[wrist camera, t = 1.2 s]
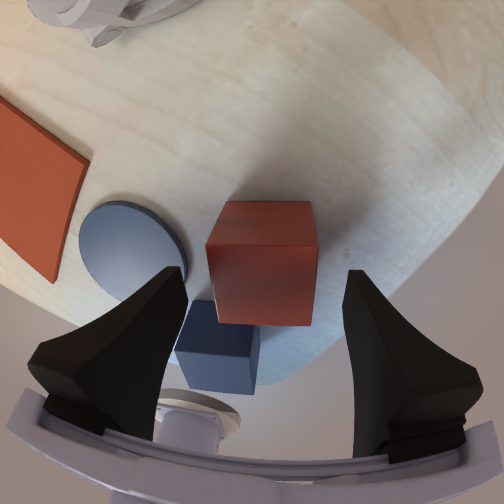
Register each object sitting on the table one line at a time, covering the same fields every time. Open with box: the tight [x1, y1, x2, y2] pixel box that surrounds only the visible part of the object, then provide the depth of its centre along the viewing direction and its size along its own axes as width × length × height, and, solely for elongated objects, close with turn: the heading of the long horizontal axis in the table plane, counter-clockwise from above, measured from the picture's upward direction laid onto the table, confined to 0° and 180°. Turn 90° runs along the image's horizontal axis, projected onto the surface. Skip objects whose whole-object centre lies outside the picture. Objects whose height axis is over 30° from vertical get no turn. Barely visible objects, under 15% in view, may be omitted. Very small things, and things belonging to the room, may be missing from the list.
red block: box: [205, 201, 319, 326], centre depth 14 cm, size 4×4×4 cm
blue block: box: [174, 301, 260, 395], centre depth 18 cm, size 4×4×4 cm
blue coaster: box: [79, 202, 187, 302], centre depth 17 cm, size 8×8×1 cm
